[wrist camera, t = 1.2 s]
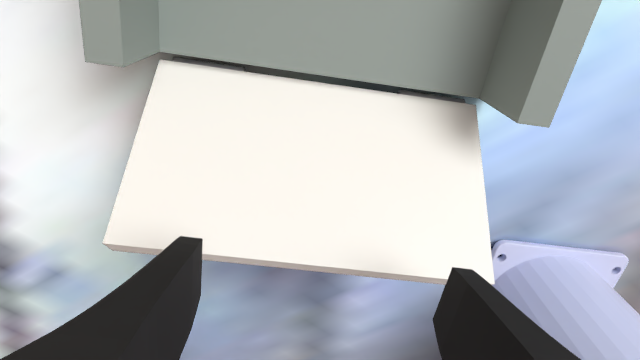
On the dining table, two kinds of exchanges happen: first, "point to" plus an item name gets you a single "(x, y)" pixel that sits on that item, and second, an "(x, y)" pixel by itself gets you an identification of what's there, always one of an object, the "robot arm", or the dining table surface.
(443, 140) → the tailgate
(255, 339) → the dining table surface
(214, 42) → the cart bed
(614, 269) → the robot arm
